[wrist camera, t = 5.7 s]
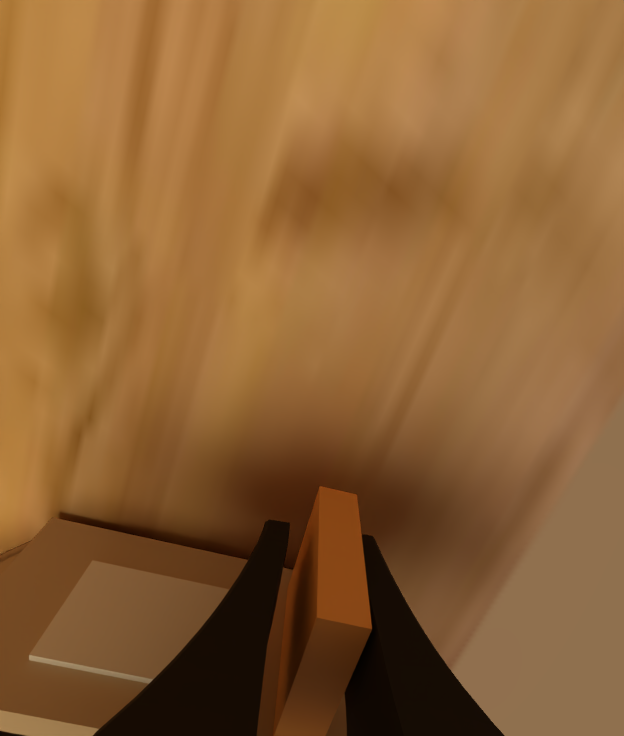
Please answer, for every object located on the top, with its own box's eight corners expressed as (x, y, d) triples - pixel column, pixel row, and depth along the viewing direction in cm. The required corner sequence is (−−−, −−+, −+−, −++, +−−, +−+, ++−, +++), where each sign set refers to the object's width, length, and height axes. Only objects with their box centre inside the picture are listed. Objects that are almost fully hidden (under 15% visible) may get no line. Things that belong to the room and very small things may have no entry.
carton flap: (381, 484, 14) (417, 656, 8) (339, 596, 15) (346, 795, 10) (55, 409, 13) (-129, 543, 8) (51, 534, 15) (-100, 712, 9)
